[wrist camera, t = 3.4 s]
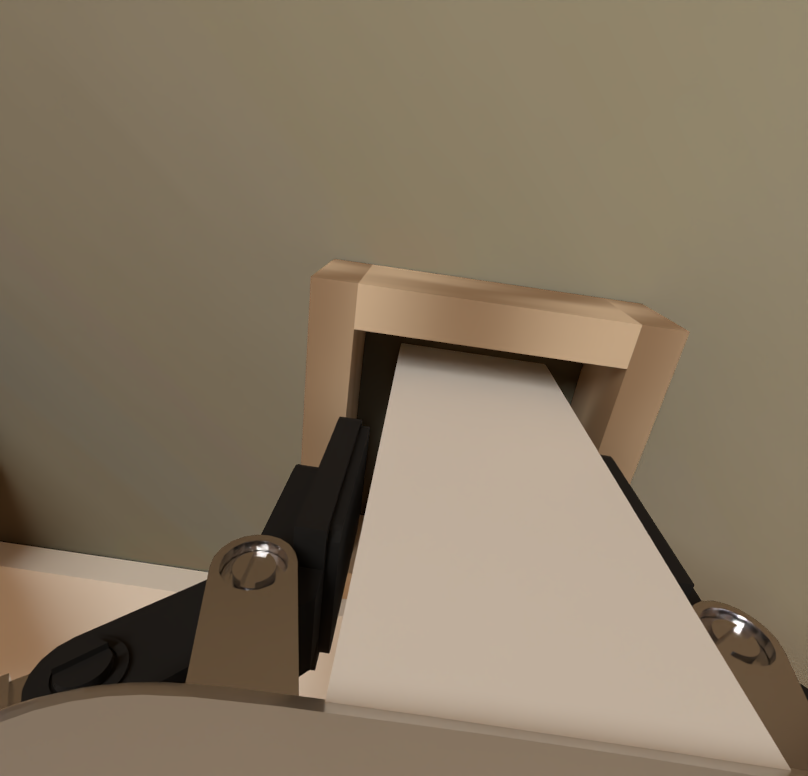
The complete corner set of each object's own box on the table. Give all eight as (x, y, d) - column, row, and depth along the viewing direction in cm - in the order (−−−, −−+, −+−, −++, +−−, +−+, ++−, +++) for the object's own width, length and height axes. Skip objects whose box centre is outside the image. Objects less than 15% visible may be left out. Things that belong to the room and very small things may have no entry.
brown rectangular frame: (642, 303, 12) (690, 331, 10) (551, 567, 16) (571, 632, 13) (334, 259, 12) (310, 276, 10) (314, 532, 16) (294, 591, 14)
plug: (545, 364, 13) (924, 989, 3) (505, 510, 15) (648, 1178, 5) (401, 342, 13) (284, 892, 3) (380, 491, 15) (271, 1121, 5)
